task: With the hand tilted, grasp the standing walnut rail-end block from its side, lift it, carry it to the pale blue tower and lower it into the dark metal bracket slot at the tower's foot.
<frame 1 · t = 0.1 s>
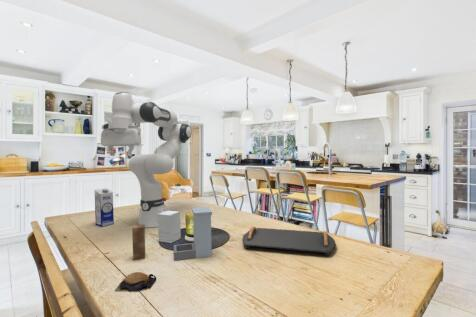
hand: (120, 155, 119), 39 cm above the table, tool pointing down, fingers open, 8 cm apart
serving board: (287, 245, 110), on the table
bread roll: (136, 286, 78), on the table
milk carton: (104, 225, 143), on the table
supplement box: (169, 240, 117), on the table
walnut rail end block: (139, 257, 98), on the table
pale blue tower: (184, 255, 99), on the table
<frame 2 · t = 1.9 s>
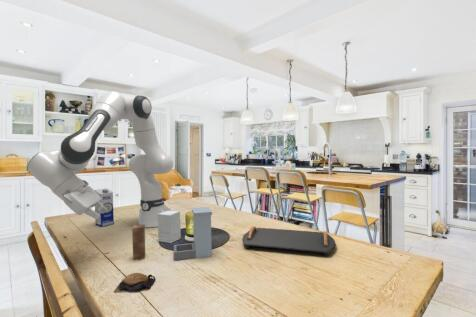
hand: (102, 214, 94), 17 cm above the table, tool tilted 45°, fingers open, 8 cm apart
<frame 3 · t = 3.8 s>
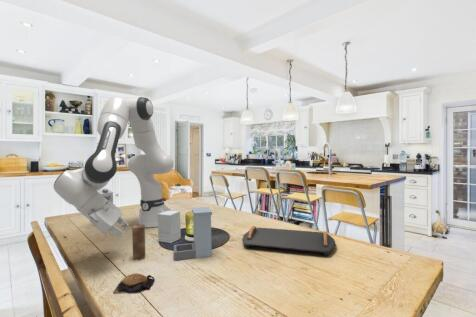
hand: (124, 230, 96), 11 cm above the table, tool tilted 45°, fingers open, 8 cm apart
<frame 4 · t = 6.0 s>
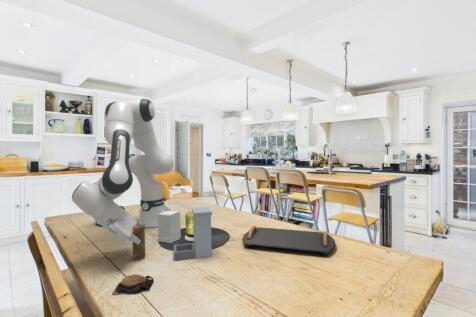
hand: (140, 240, 98), 7 cm above the table, tool tilted 45°, fingers closed on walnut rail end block, 4 cm apart
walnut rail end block: (139, 257, 98), on the table, touching gripper
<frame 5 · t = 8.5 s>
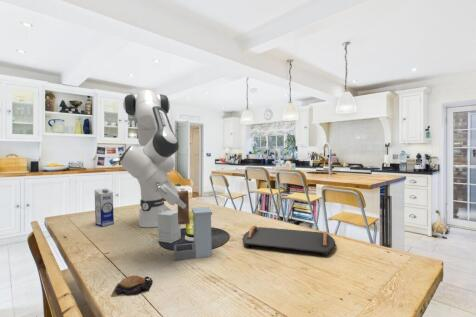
hand: (184, 205, 99), 19 cm above the table, tool tilted 45°, fingers closed on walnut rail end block, 4 cm apart
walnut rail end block: (183, 222, 99), point 13 cm above the table, touching gripper
when the fingers open (8 cm above the table, at t = 11.6 s): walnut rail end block drops 1 cm, resting in pale blue tower.
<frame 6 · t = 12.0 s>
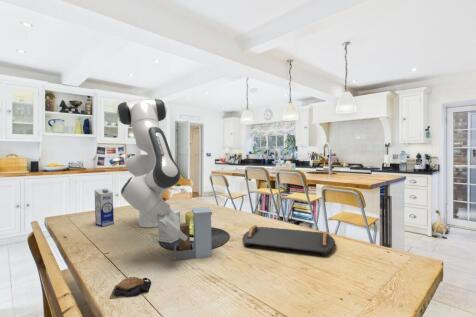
hand: (185, 235, 99), 8 cm above the table, tool tilted 45°, fingers open, 8 cm apart
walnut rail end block: (184, 255, 99), resting in pale blue tower
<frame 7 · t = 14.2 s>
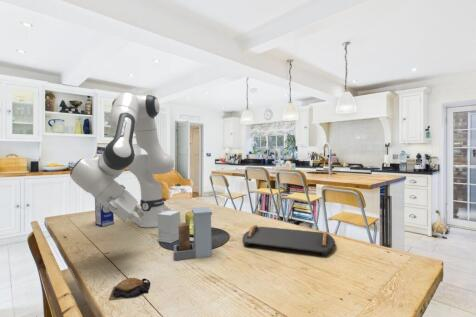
hand: (141, 218, 96), 15 cm above the table, tool tilted 45°, fingers open, 8 cm apart
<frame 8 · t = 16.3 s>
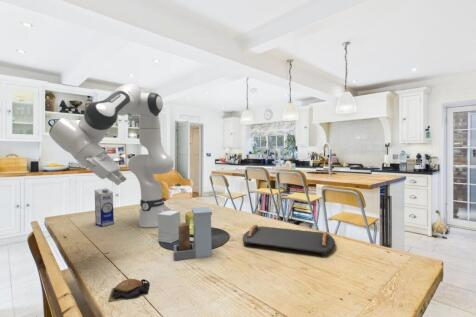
hand: (122, 182, 94), 29 cm above the table, tool tilted 45°, fingers open, 8 cm apart
at the end: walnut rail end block 0.1 cm from the pale blue tower (horizontally); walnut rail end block resting in pale blue tower; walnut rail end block tilted 0° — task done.
